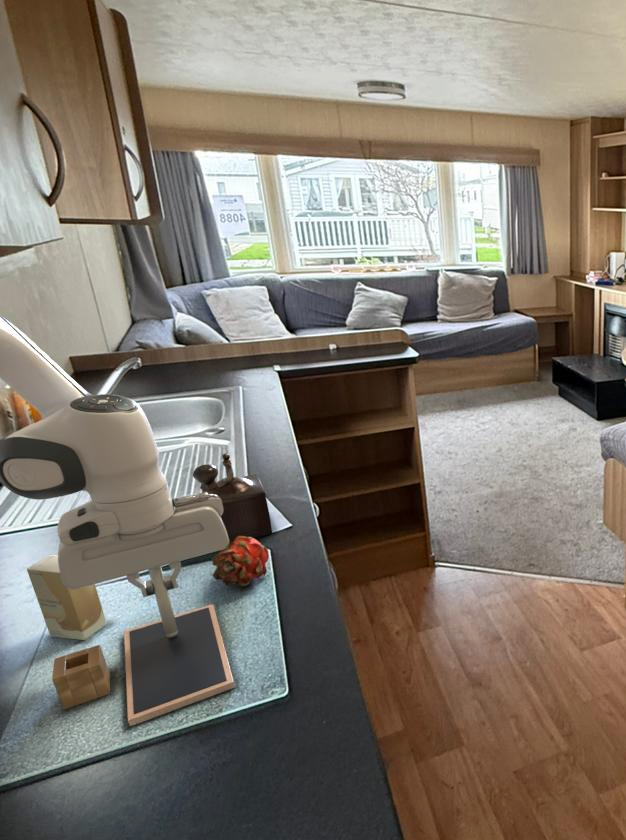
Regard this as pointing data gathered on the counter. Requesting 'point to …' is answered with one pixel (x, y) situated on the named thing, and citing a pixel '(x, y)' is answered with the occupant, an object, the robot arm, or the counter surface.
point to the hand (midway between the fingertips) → (160, 590)
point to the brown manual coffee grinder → (237, 500)
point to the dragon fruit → (241, 561)
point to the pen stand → (81, 676)
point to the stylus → (163, 602)
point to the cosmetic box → (65, 602)
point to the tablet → (174, 664)
